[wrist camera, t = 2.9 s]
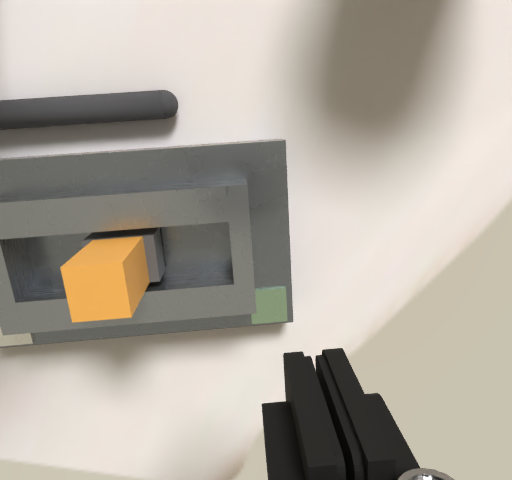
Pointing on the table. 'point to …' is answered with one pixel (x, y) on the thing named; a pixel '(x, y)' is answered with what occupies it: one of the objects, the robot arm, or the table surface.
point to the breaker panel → (172, 237)
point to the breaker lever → (112, 273)
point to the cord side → (87, 109)
